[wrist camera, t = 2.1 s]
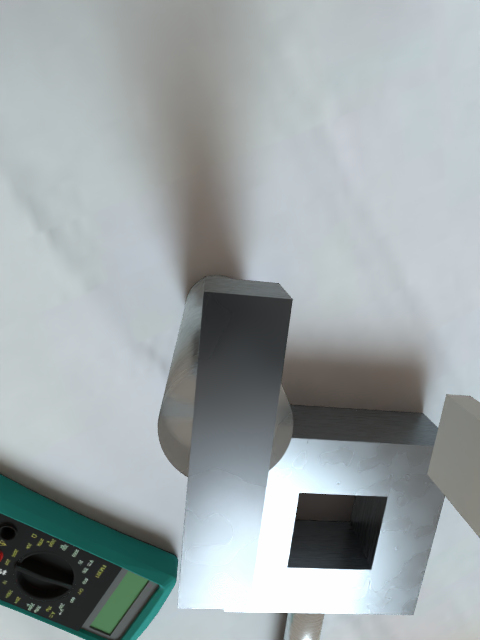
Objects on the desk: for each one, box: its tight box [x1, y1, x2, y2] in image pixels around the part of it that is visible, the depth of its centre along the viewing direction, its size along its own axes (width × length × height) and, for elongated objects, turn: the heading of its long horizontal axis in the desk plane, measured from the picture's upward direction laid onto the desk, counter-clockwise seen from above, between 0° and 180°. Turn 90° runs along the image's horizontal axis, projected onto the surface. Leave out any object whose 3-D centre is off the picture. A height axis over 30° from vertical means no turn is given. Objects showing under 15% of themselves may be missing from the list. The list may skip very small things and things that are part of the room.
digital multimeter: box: [0, 474, 178, 640], centre depth 28 cm, size 7×15×3 cm, turn 57°
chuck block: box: [225, 405, 445, 640], centre depth 28 cm, size 22×12×4 cm, turn 174°
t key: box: [158, 275, 293, 609], centre depth 17 cm, size 8×4×16 cm, turn 174°
